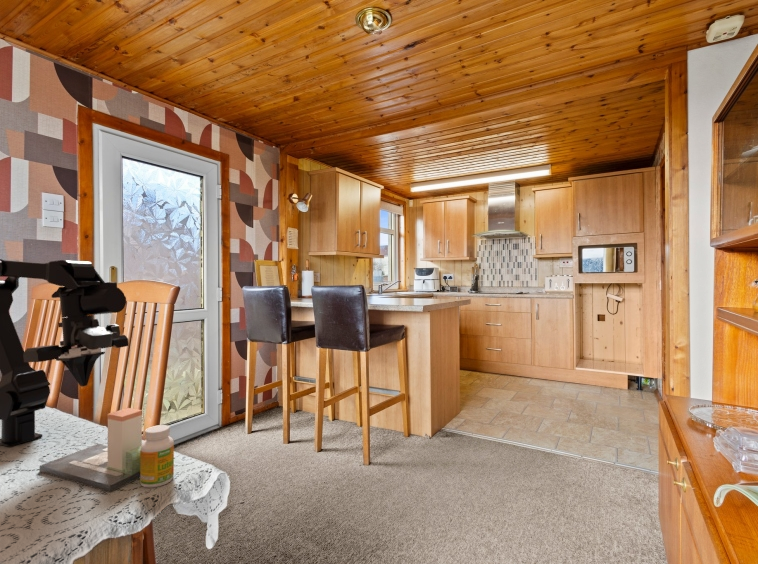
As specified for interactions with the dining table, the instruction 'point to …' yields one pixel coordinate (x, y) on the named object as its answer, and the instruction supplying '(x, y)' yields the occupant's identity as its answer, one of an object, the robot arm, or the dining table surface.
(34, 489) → the dining table surface
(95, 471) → the plate
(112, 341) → the robot arm
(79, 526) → the dining table surface
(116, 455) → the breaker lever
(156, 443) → the supplement bottle
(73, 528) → the dining table surface
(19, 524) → the dining table surface
